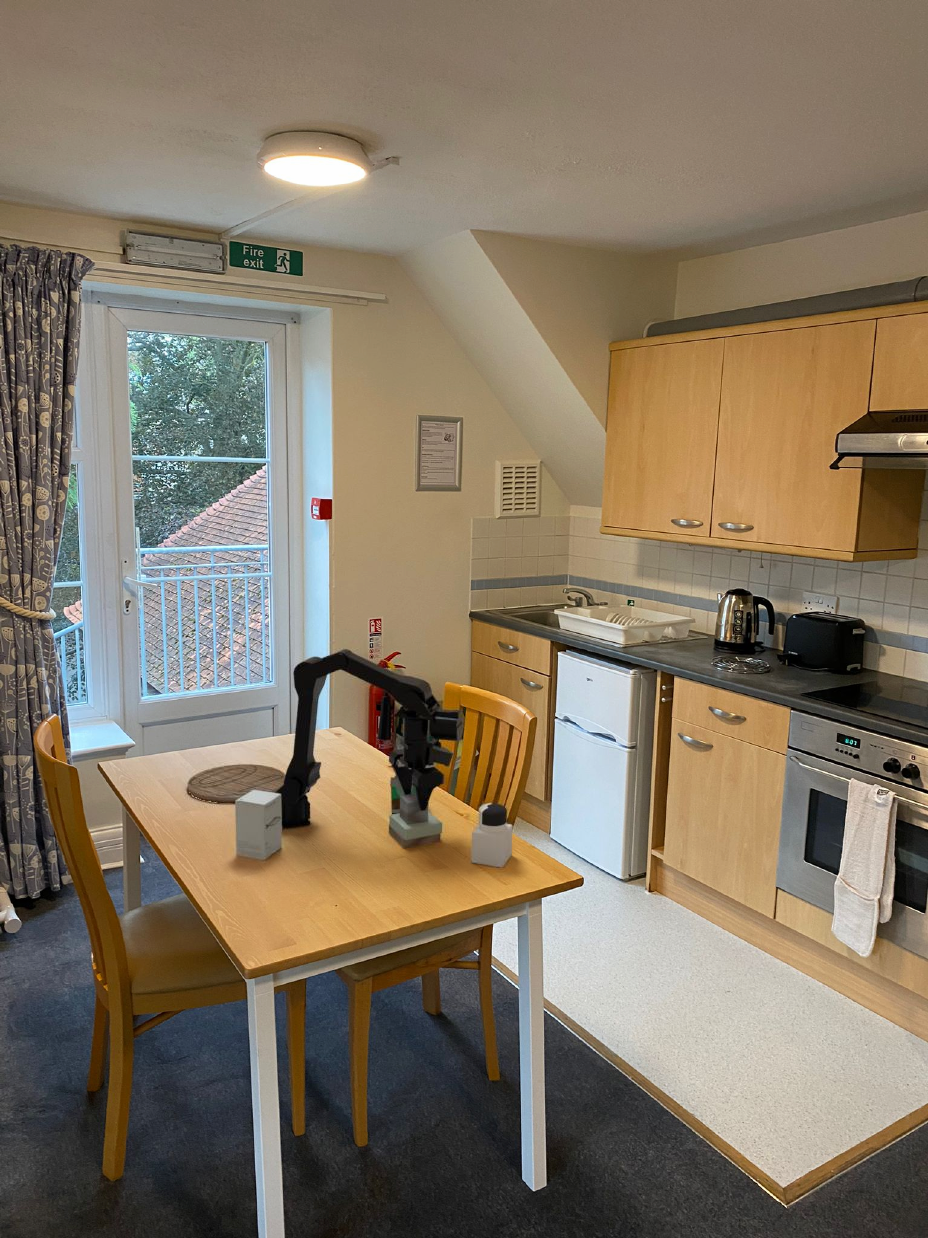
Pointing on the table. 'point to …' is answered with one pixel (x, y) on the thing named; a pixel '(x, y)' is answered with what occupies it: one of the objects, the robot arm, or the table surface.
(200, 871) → the table surface
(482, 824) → the medicine bottle
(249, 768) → the trivet
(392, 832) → the walnut slab
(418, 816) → the grey cube
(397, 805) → the food container
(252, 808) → the supplement box
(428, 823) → the sage slab
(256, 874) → the table surface
